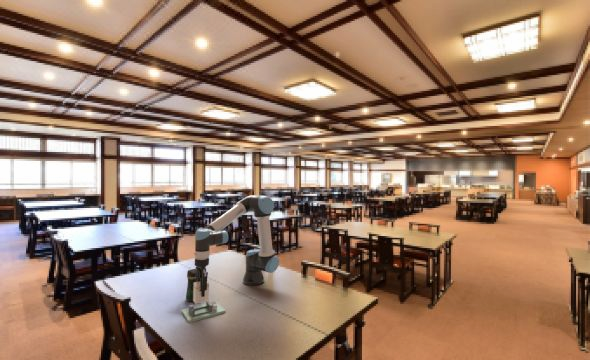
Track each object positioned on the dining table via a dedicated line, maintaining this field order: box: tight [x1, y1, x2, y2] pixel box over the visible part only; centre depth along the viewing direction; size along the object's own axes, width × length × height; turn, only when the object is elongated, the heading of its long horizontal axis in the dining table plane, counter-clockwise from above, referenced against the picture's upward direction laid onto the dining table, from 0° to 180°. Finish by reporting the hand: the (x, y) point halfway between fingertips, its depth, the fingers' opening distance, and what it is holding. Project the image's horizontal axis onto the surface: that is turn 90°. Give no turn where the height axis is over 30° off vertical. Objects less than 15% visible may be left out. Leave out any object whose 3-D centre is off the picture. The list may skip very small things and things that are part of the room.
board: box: [181, 300, 227, 324], centre depth 152 cm, size 20×14×4 cm
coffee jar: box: [185, 268, 196, 302], centre depth 169 cm, size 10×8×19 cm
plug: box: [192, 280, 210, 305], centre depth 150 cm, size 7×5×10 cm, turn 126°
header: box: [188, 301, 213, 317], centre depth 150 cm, size 11×7×4 cm, turn 127°
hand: (200, 300), depth 150 cm, fingers closed on plug, 4 cm apart
